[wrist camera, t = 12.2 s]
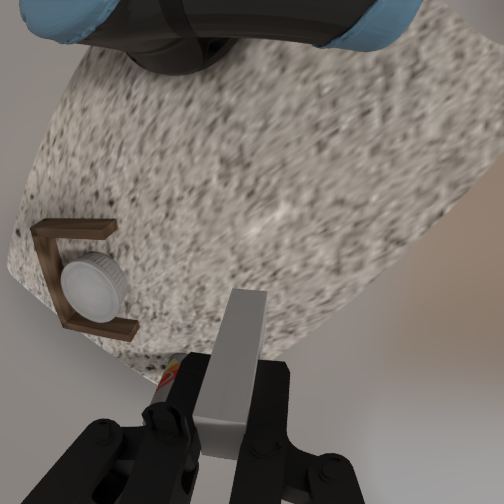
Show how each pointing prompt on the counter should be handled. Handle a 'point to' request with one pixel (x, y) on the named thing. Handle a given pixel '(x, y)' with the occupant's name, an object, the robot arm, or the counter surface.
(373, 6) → the robot arm
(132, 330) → the walnut box
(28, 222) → the counter surface
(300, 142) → the counter surface
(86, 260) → the ramekin
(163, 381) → the lotion bottle
